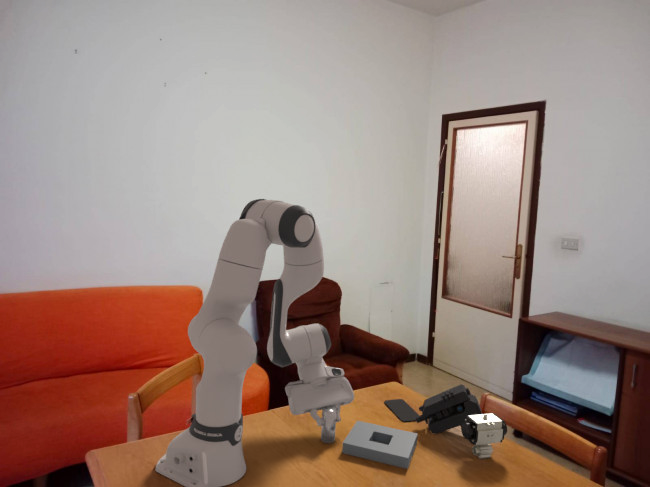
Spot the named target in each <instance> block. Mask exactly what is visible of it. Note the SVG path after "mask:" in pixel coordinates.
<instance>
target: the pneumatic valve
mask: <svg viewBox="0 0 650 487" xmlns="http://www.w3.org/2000/svg"><path fill="white" fill-rule="evenodd" d="M465 421H466V422H463V423H462V425H461V426H460V430H461V435H462V437H463V438H464V440H465V439H466V440H467V441H469V443H470V444H472V445H473V446H471V451H472V454H473V455H474V456H476V457H477V458H478V459H480V460H482V459H489V458H491V457H492V453H493V452H494V450H493V446H492V445H491V444H499V443H503V440H505V436H506V435H507V433H508V426H507V423H506V421H505V420H504V419H503V418H501V417H499V416H498V415H497V414H496V413H492V412H491V413H482V414H479V415H468V416H466V419H465Z"/></svg>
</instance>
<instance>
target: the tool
mask: <svg viewBox="0 0 650 487" xmlns="http://www.w3.org/2000/svg"><path fill="white" fill-rule="evenodd" d="M418 410H419V412H421V414H419V416H417V417H415V419H416V421H415V422H416V423H417V424H419V423H422V422H425V424H426V425H427V427H428V428H427V429H428V430H429V432H430V433H431V434H433V435H437V434H439V433H442V432H446V431H448V430H451V429H454V428H457V427H461V425H462V423H463V422H466V421H465V419H466V416H468V415H479V414H483V413H482V409H481V406H480V403H479V401H478V398H477V397H476V395H473V394H472V393H471V390H470V389H469V387H466V386H465V384H461V383H460V384H459V385H456V386H453V387H451V388H449V389H446V390H443V391H442V392H440V393H437V394H434V395H433V396H431V397H428V398H426V399H424V401H423V404H422V405H420V406H419V407H418Z"/></svg>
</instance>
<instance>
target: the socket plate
mask: <svg viewBox="0 0 650 487" xmlns="http://www.w3.org/2000/svg"><path fill="white" fill-rule="evenodd" d="M417 443H418V433H417V432H413V431H408V430H403V429H398V428H393V427H389V426H384V425H379V424H375V423H370V422H366V421H362V420H357V421H356V422H355V423H354V425H353V427H352V428H351V429H350V431H349V432H348V434H347V436H346V437H345V439H344V440H343V441H342V451H341V453H342V454H345V455H349V456H353V457H358V458H362V459H366V460H369V461H373V462H377V463H382V464H385V465H388V466H389V465H390V466H393V467H398V468H402V469H406V470H409V467H410V463H411V461H412V458H413V456H414V453H415V450H416V447H417Z"/></svg>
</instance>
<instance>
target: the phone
mask: <svg viewBox="0 0 650 487" xmlns="http://www.w3.org/2000/svg"><path fill="white" fill-rule="evenodd" d="M383 404H384V405H385V406H386V407H387V408H388V410H390V411H391V412H392V414H394V415H395V416H396V417H397V418H398V420H400V422H402V423H411V422H412V421H413V422H416V419H415V417H417V416H420V414H418V412H416V410H414V409H413V407H411V406H410V404H408V402H406V401H405V400H404V399H402V398H397V399H395V398H394V399H387V400H384V402H383ZM413 422H412V423H413Z"/></svg>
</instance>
